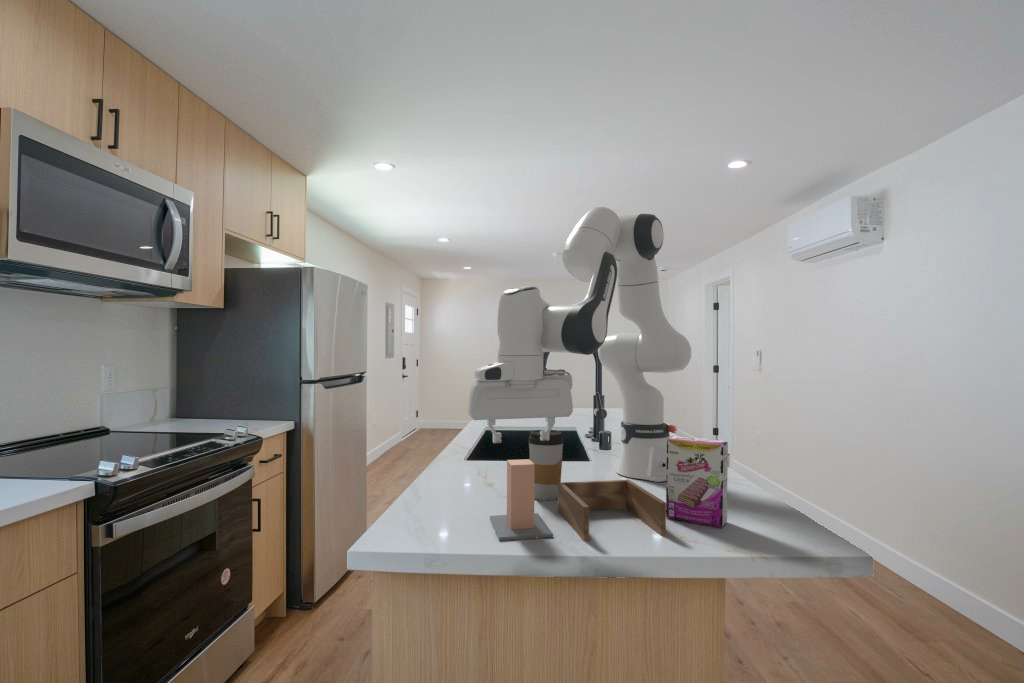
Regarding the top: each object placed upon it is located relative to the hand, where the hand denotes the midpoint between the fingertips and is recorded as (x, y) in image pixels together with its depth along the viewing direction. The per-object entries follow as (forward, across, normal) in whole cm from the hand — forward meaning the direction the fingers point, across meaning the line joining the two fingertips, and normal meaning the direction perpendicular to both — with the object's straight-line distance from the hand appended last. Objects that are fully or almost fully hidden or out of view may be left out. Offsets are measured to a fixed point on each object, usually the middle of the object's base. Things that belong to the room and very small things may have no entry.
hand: (521, 441), depth 100 cm
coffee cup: (+17, -10, -18) cm, 27 cm away
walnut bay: (+17, -18, 0) cm, 24 cm away
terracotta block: (+16, 0, 0) cm, 16 cm away
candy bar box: (+17, -36, +2) cm, 40 cm away
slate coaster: (+16, 0, 0) cm, 17 cm away
